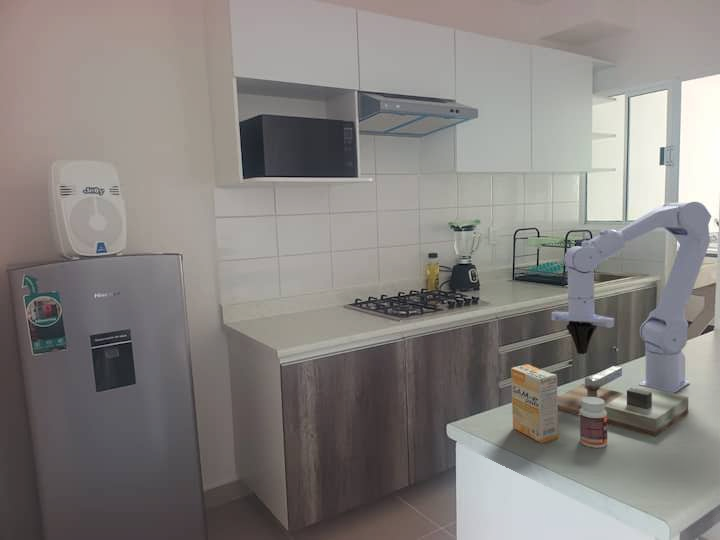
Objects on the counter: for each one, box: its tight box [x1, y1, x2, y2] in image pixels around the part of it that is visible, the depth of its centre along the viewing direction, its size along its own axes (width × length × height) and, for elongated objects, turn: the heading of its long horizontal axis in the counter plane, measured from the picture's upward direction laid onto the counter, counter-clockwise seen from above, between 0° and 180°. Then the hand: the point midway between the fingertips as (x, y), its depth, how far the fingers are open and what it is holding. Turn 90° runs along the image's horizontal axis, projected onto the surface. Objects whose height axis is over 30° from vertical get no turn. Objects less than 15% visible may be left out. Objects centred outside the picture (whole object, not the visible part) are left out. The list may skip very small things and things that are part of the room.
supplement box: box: [510, 363, 559, 444], centre depth 102 cm, size 8×5×13 cm, turn 23°
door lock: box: [557, 383, 689, 437], centre depth 111 cm, size 16×23×6 cm
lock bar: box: [584, 365, 623, 390], centre depth 117 cm, size 14×3×2 cm, turn 128°
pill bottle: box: [578, 397, 608, 449], centre depth 96 cm, size 5×5×8 cm
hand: (582, 352), depth 122 cm, fingers closed
